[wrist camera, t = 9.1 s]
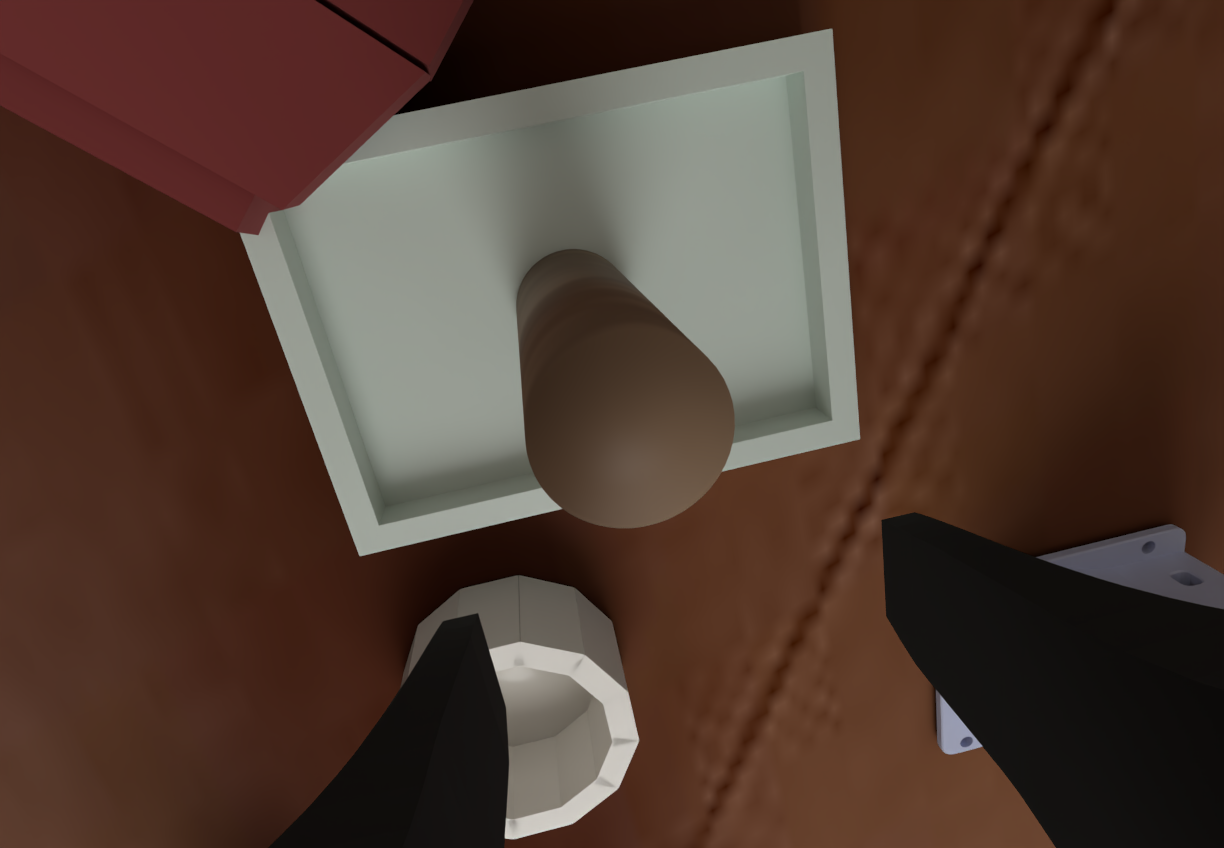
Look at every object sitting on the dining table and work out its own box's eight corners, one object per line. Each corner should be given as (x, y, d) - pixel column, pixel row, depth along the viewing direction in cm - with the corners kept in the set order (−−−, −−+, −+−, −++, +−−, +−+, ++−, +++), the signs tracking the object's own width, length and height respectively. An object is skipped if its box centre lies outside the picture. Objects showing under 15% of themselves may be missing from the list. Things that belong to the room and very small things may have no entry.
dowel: (622, 240, 20) (725, 312, 10) (636, 352, 21) (742, 506, 12) (506, 258, 19) (506, 349, 10) (527, 371, 21) (545, 545, 11)
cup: (597, 556, 24) (611, 619, 20) (635, 723, 26) (653, 802, 23) (379, 607, 23) (358, 681, 20) (440, 772, 26) (430, 860, 23)
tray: (803, 39, 19) (832, 28, 17) (834, 418, 23) (859, 439, 21) (237, 152, 18) (209, 151, 17) (370, 526, 22) (359, 556, 21)
